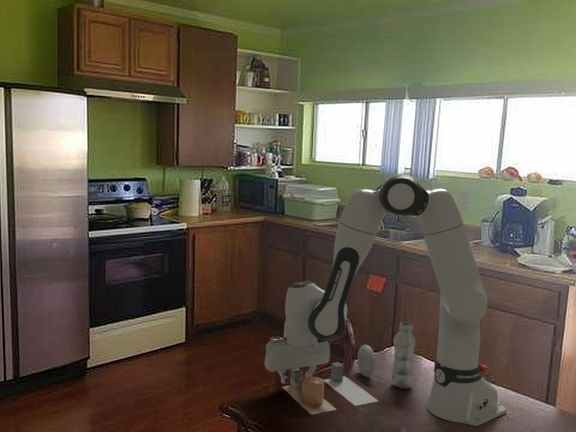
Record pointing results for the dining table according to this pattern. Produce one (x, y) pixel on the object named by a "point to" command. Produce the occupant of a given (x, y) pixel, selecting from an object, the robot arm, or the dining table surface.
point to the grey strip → (347, 387)
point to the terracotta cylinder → (313, 391)
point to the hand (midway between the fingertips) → (296, 380)
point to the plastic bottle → (403, 357)
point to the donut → (366, 360)
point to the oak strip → (296, 393)
